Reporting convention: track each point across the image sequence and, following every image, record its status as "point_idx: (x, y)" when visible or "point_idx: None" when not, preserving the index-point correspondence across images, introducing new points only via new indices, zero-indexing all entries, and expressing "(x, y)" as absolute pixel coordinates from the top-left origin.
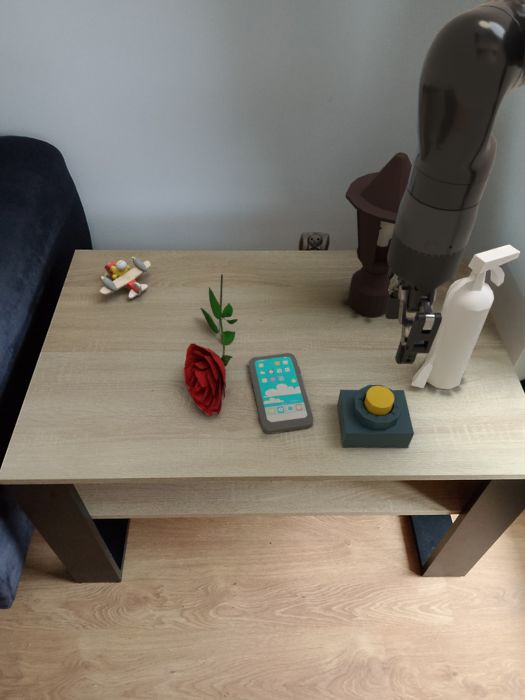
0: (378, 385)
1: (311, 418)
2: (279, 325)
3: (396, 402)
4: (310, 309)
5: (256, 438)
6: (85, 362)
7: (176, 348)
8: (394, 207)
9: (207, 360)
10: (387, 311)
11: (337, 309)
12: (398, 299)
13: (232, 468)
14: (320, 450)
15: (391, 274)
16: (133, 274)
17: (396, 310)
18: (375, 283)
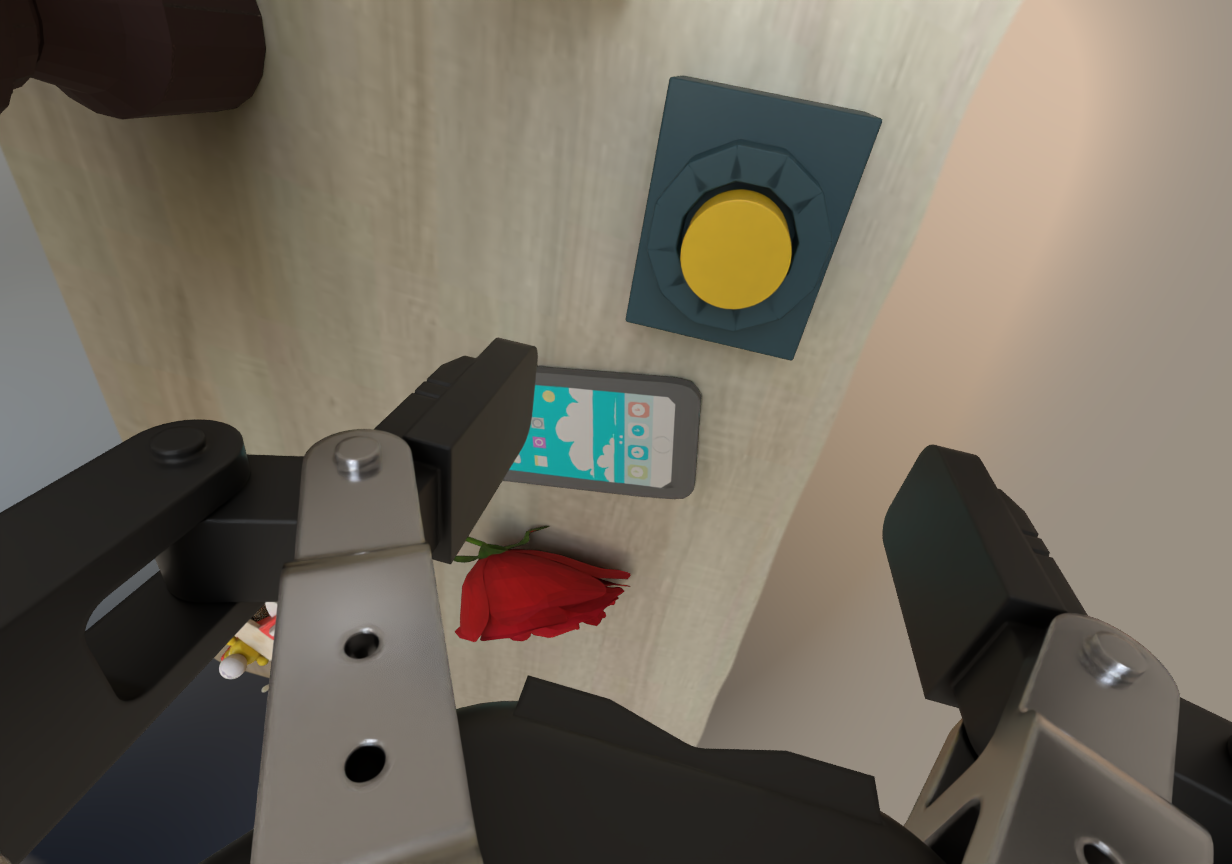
0: (656, 213)
1: (681, 390)
2: (344, 362)
3: (753, 170)
4: (266, 255)
5: (698, 506)
6: (470, 696)
7: (435, 579)
8: None
9: (515, 634)
10: (506, 473)
11: (248, 161)
12: (455, 502)
13: (760, 564)
14: (777, 385)
15: (217, 648)
16: (246, 630)
17: (505, 427)
18: (96, 25)
